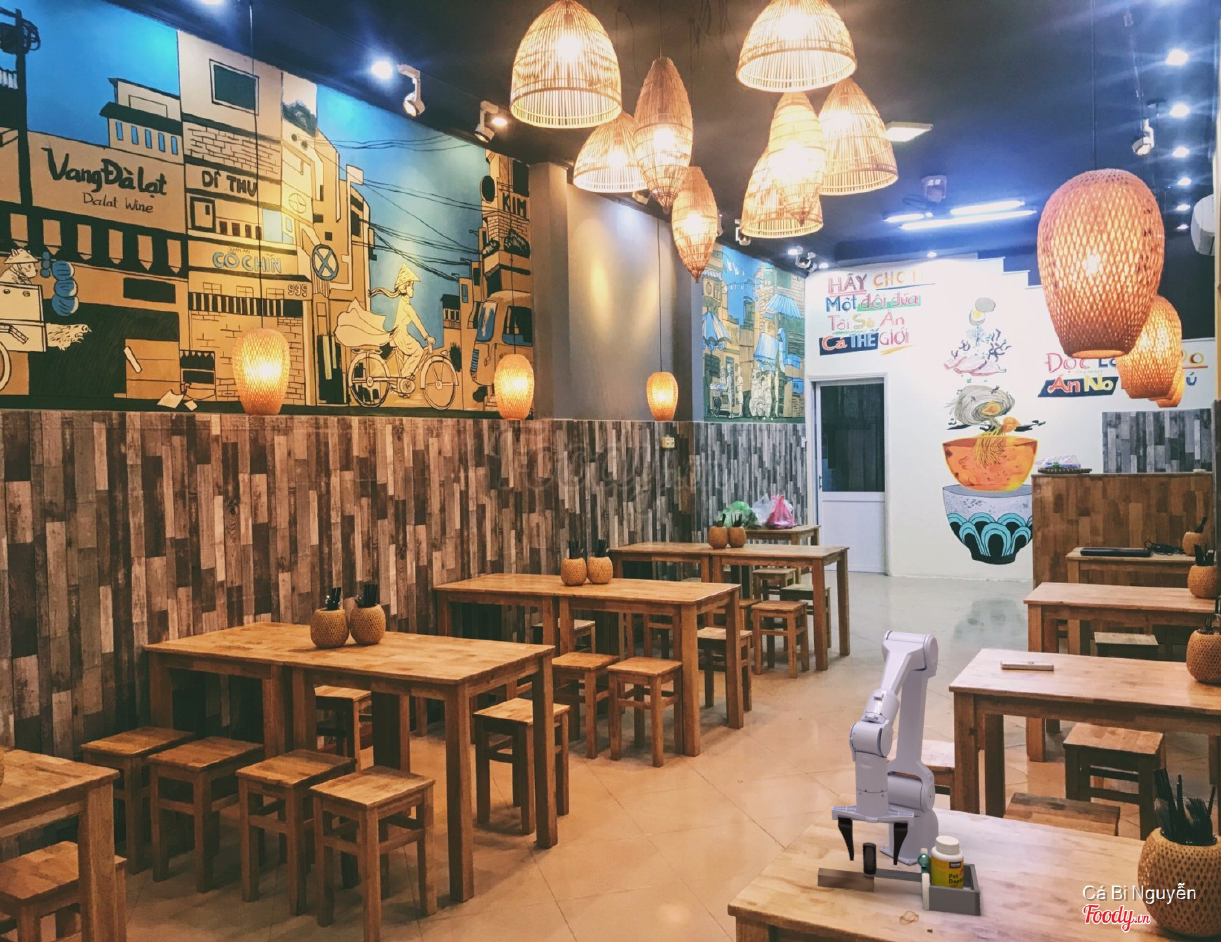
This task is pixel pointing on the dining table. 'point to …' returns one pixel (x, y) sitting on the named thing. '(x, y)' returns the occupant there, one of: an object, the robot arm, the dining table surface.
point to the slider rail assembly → (873, 871)
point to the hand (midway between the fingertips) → (873, 860)
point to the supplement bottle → (947, 863)
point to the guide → (845, 880)
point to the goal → (952, 893)
